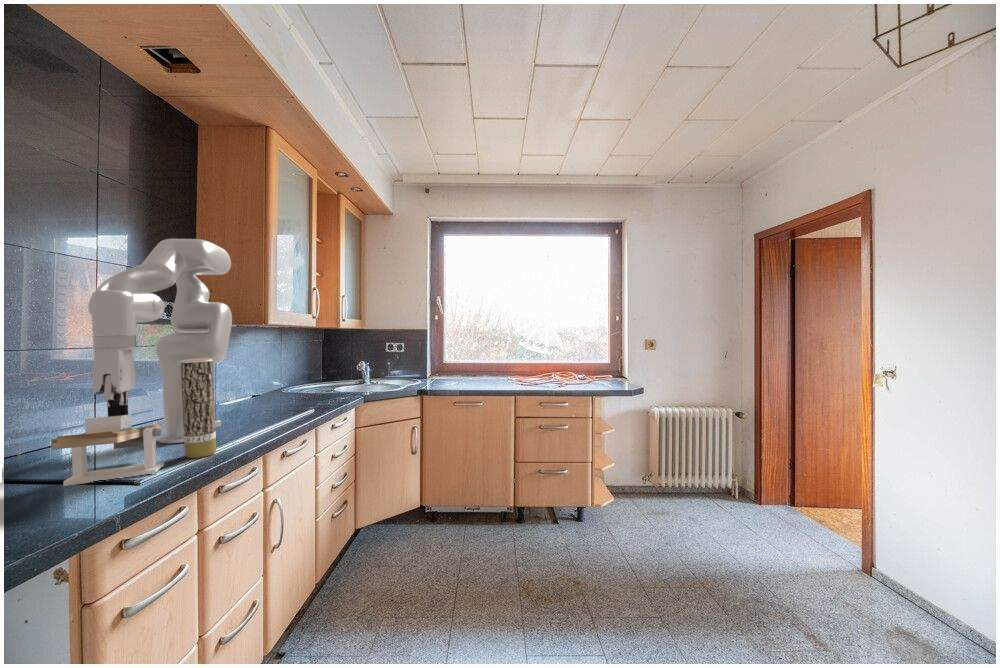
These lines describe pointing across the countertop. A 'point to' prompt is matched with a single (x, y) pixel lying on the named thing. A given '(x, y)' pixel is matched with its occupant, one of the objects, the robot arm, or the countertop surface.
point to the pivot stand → (86, 476)
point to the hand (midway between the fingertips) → (118, 422)
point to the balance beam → (103, 439)
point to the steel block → (108, 424)
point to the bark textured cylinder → (198, 407)
